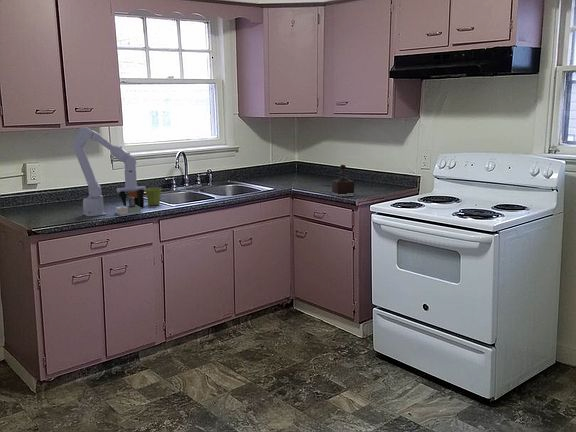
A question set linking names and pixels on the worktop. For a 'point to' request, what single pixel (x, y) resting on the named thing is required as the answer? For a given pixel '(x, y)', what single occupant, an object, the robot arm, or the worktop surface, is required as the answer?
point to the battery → (134, 194)
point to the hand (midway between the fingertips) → (132, 205)
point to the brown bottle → (342, 183)
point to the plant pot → (153, 195)
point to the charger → (128, 210)
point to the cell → (131, 202)
